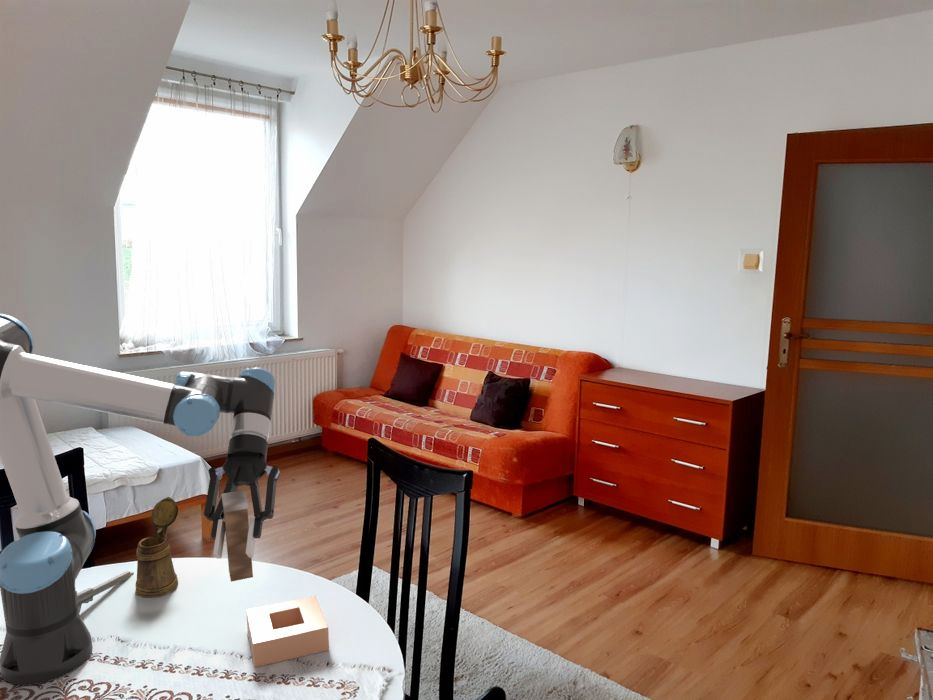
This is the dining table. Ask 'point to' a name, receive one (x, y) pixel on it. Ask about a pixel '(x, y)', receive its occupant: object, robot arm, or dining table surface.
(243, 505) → the silver-capped wooden peg
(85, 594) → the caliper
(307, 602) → the terracotta holder
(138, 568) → the wooden mug
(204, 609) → the dining table surface
